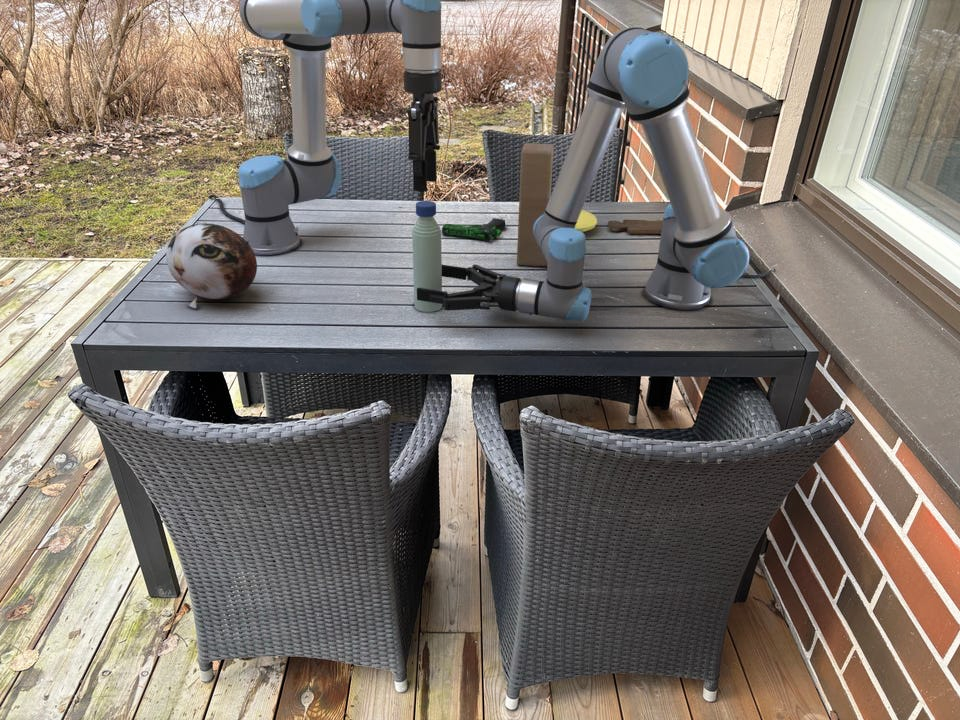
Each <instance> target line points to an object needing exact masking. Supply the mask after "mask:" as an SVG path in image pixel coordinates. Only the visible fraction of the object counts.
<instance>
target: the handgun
mask: <svg viewBox="0 0 960 720" xmlns="http://www.w3.org/2000/svg"><path fill="white" fill-rule="evenodd" d="M505 228H506V220H505V219H503V218H497V217H492V219H491V220H490V221H489V222H488V223H483V224H482V225H479V224H472V225H459V224H453V223H445V224H443V226H442V227H441V235H446V236H454V237H462V238H469V239H470V238H471V239H474V240H479V241H484V242H491V241H492V240H494V239H495V238H497V237H500V236H502V230H504V229H505Z"/></svg>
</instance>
